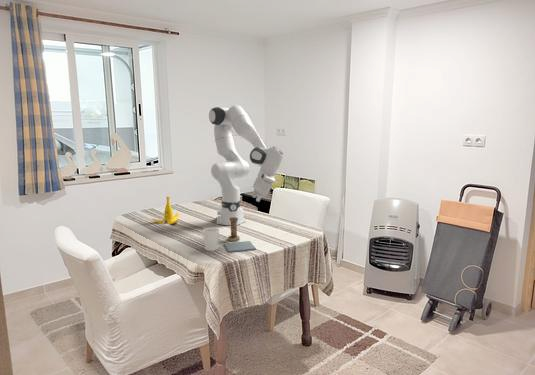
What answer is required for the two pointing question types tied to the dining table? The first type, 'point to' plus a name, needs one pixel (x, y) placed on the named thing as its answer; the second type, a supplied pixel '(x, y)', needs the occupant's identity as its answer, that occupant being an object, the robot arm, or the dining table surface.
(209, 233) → the white cup
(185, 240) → the dining table surface
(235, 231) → the brown post
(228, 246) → the gray book
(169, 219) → the banana peel
